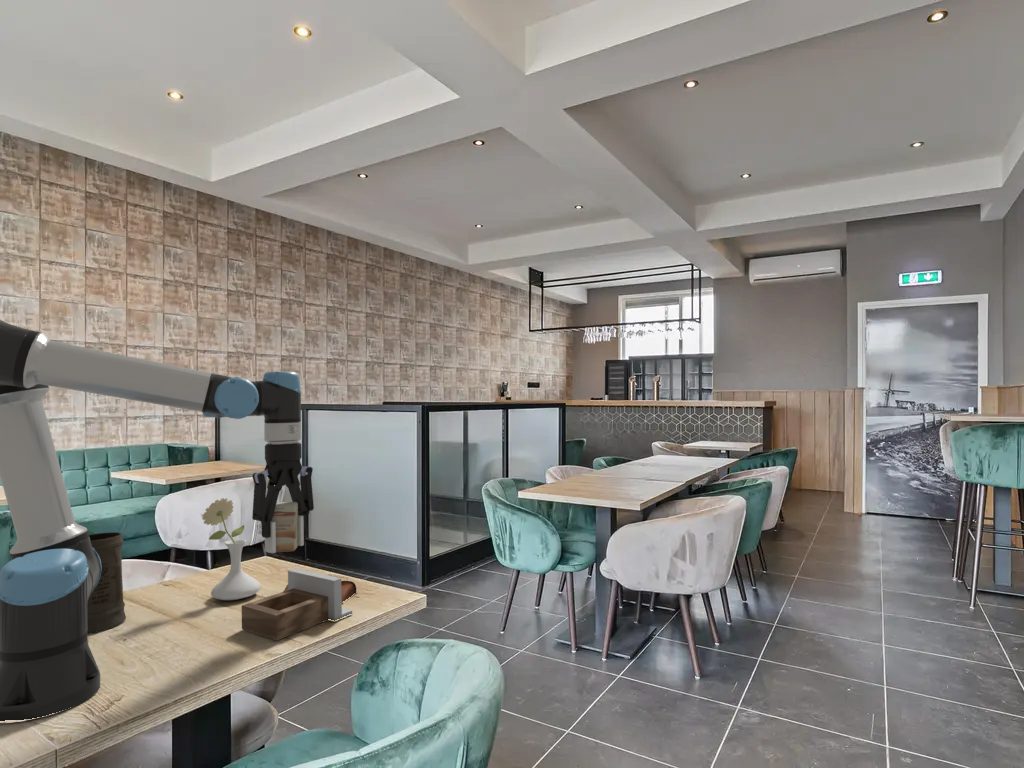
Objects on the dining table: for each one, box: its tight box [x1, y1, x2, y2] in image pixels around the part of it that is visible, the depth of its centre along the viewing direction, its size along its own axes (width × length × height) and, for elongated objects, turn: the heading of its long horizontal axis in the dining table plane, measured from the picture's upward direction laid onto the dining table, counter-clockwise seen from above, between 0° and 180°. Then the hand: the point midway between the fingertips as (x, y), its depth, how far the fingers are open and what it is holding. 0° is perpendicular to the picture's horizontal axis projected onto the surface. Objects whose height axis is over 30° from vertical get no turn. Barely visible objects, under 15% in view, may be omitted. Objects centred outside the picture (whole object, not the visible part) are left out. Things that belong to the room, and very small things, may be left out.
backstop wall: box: [287, 568, 353, 621], centre depth 136 cm, size 5×16×9 cm, turn 57°
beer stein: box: [87, 531, 127, 634], centre depth 133 cm, size 15×11×20 cm
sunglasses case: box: [282, 580, 357, 602], centre depth 146 cm, size 18×7×7 cm
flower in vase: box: [202, 497, 262, 601], centre depth 148 cm, size 13×11×25 cm
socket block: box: [241, 588, 329, 641], centre depth 129 cm, size 13×12×5 cm
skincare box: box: [272, 501, 298, 553], centre depth 129 cm, size 5×4×10 cm
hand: (284, 548), depth 129 cm, fingers closed on skincare box, 6 cm apart
